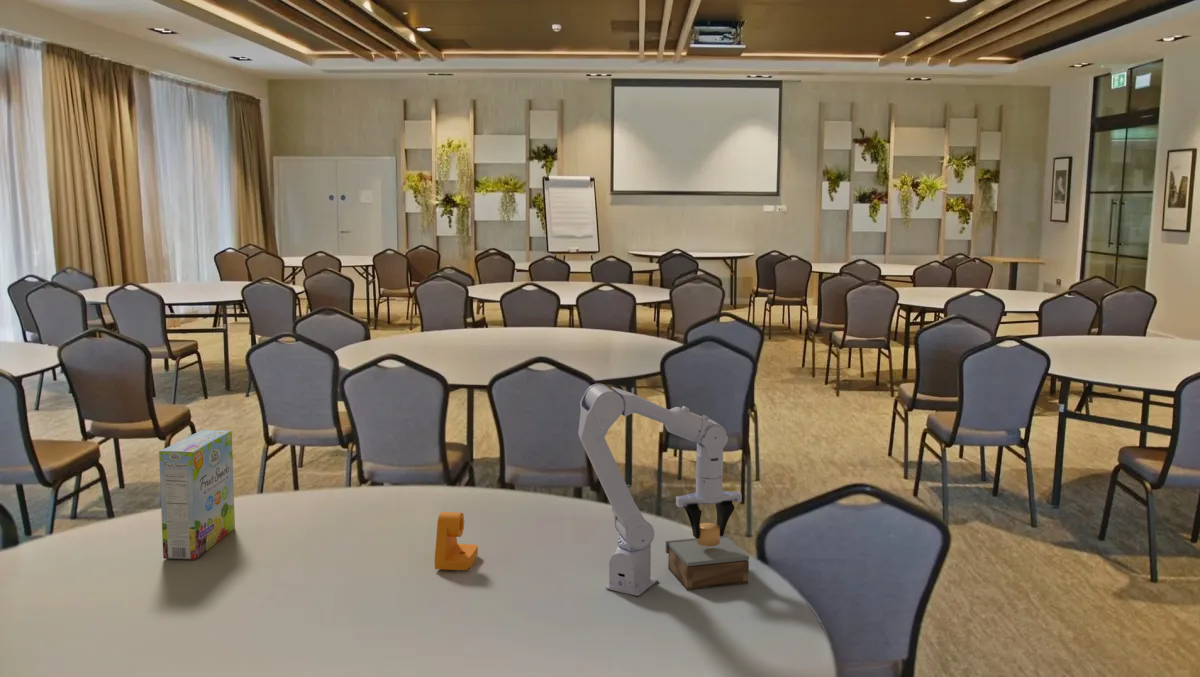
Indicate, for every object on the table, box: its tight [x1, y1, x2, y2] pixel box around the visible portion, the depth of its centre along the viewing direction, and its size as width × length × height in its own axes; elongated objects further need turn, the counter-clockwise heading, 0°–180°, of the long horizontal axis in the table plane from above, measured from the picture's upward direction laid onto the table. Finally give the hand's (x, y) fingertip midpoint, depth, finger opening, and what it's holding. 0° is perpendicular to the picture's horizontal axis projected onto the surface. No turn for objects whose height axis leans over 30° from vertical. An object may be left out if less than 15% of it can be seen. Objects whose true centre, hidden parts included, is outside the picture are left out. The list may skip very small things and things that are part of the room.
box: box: [667, 547, 750, 591], centre depth 200 cm, size 12×14×5 cm
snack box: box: [158, 429, 236, 561], centre depth 218 cm, size 22×9×26 cm, turn 179°
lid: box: [665, 534, 750, 566], centre depth 201 cm, size 13×15×3 cm
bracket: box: [434, 511, 479, 571], centre depth 207 cm, size 11×7×12 cm, turn 173°
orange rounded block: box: [697, 522, 720, 546], centre depth 199 cm, size 5×5×4 cm
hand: (708, 535), depth 199 cm, fingers closed on orange rounded block, 5 cm apart
